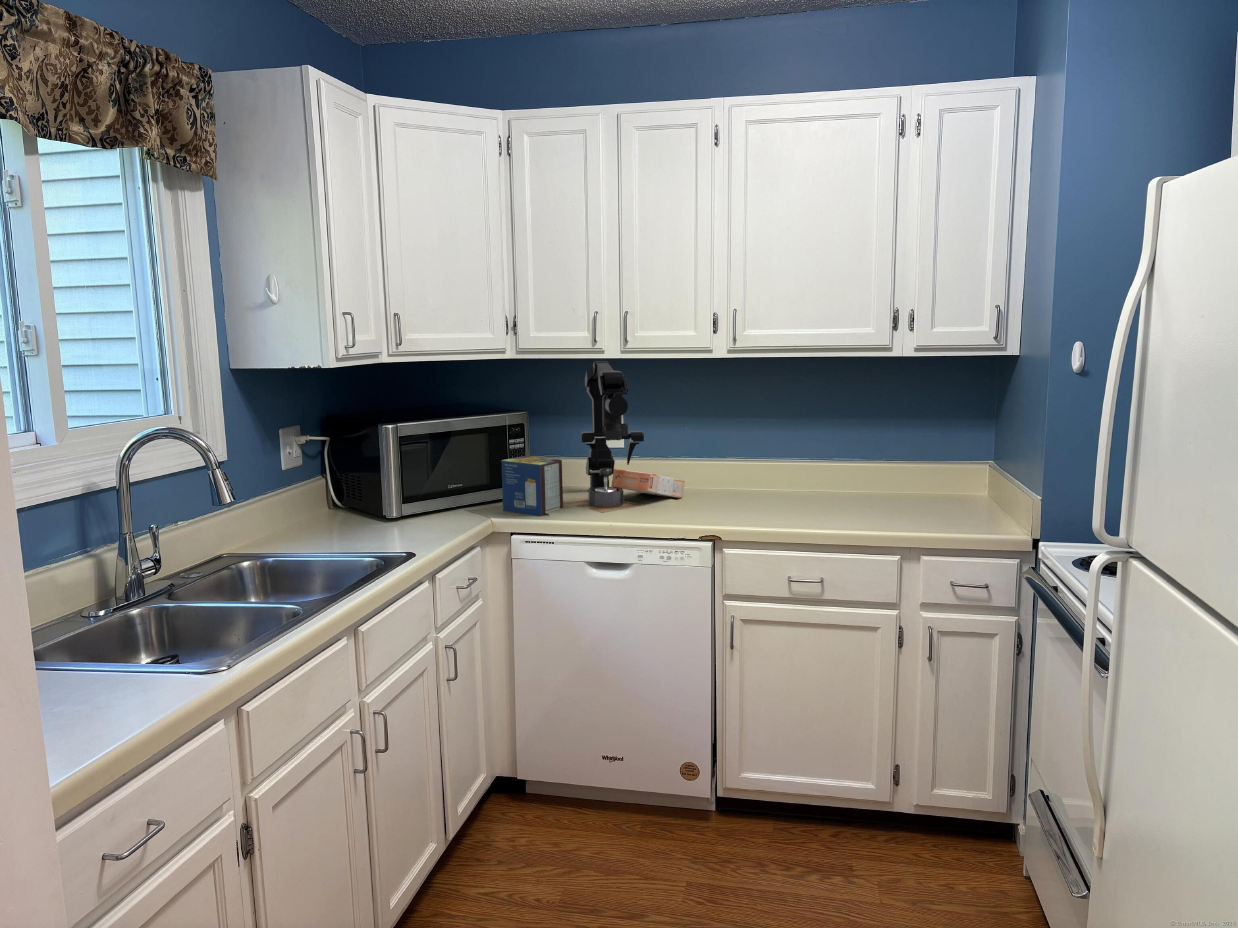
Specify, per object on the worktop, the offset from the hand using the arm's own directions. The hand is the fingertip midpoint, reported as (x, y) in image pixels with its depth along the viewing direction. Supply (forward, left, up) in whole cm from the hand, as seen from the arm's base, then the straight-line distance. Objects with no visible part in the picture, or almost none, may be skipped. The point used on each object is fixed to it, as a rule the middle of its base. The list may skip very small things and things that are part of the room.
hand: (612, 464), depth 260 cm
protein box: (-12, -22, -13) cm, 28 cm away
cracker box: (-4, +25, -10) cm, 27 cm away
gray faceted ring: (-3, -2, -12) cm, 13 cm away
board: (-4, -2, -13) cm, 14 cm away
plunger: (-2, -2, -8) cm, 8 cm away
